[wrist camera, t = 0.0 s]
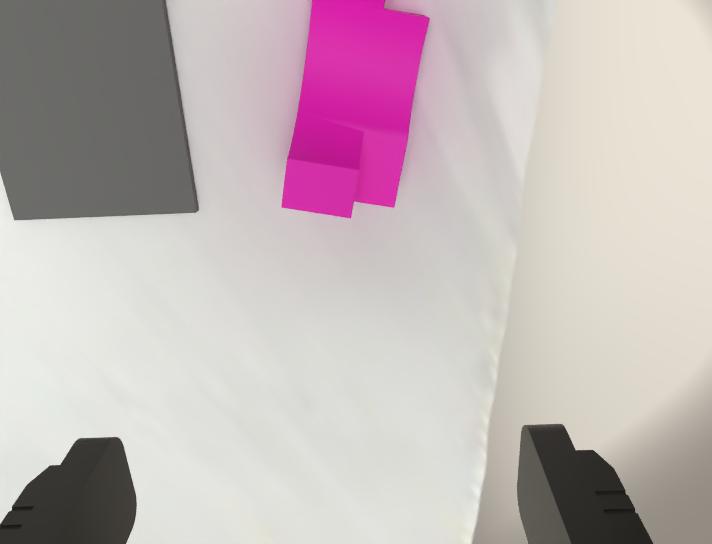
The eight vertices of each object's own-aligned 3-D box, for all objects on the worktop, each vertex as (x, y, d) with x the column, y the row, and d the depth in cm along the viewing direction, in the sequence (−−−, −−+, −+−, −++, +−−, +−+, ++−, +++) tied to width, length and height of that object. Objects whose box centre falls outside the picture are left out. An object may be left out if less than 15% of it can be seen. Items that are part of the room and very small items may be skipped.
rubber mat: (-59, -55, 35) (-66, -56, 34) (154, -67, 34) (151, -68, 34) (19, 217, 41) (14, 220, 41) (198, 209, 41) (196, 212, 40)
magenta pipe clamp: (391, 185, 40) (396, 225, 34) (295, 169, 40) (281, 207, 33) (441, -76, 34) (460, -91, 27) (328, -97, 34) (320, -118, 27)
